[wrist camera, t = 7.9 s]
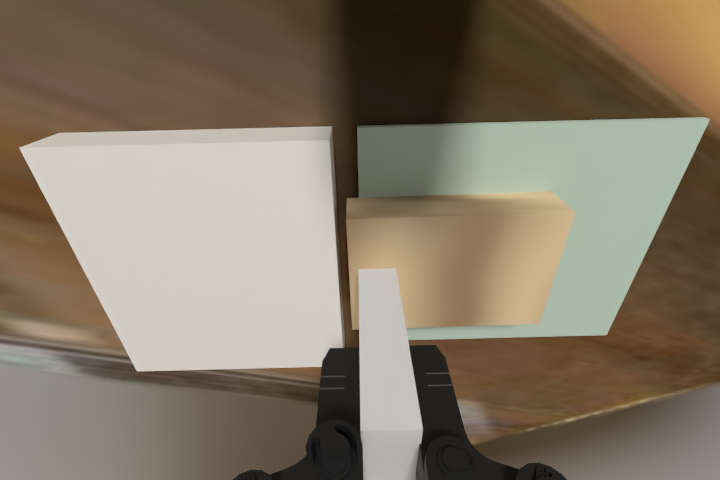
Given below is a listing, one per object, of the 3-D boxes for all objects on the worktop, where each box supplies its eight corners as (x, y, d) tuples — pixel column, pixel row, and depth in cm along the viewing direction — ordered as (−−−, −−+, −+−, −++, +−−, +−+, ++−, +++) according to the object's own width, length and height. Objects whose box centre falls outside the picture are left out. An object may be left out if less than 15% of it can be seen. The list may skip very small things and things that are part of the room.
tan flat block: (352, 301, 19) (352, 329, 17) (347, 198, 16) (345, 219, 14) (522, 296, 19) (539, 324, 17) (551, 191, 16) (575, 211, 14)
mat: (362, 337, 21) (362, 341, 20) (357, 125, 14) (357, 127, 14) (603, 331, 21) (606, 335, 20) (703, 117, 14) (710, 118, 14)
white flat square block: (155, 342, 20) (136, 371, 19) (59, 132, 14) (18, 147, 13) (344, 337, 21) (344, 366, 19) (332, 126, 14) (329, 140, 13)
